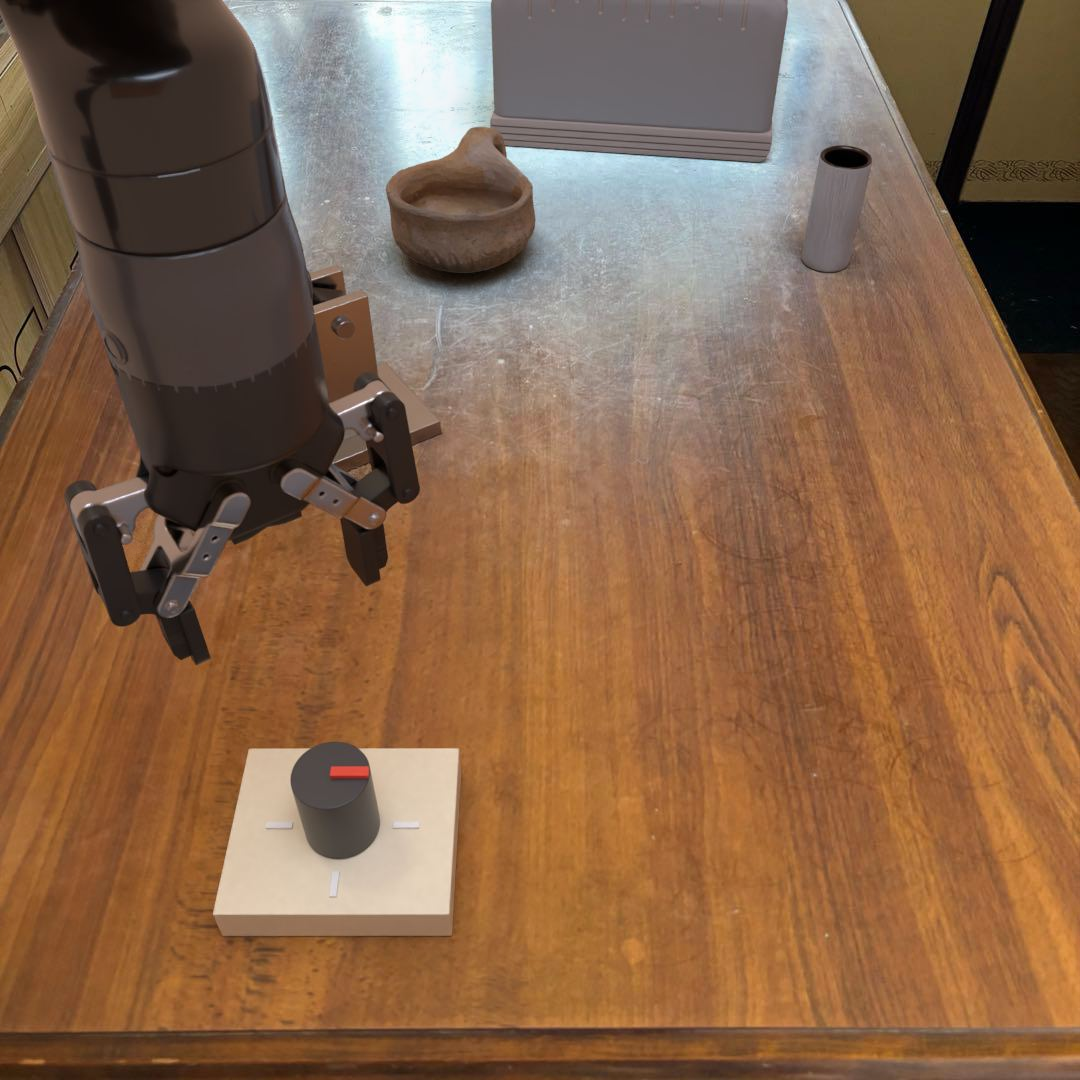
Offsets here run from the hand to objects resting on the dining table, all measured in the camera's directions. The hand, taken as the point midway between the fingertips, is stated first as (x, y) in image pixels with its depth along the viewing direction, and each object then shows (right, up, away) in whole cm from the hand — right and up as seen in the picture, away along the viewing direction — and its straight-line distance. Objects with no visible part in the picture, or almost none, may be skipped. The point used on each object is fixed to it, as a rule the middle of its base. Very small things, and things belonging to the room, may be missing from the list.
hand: (282, 610), depth 52 cm
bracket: (-3, +12, +35) cm, 37 cm away
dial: (+2, -12, +8) cm, 14 cm away
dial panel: (+2, -14, +9) cm, 17 cm away
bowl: (+5, +32, +55) cm, 64 cm away
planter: (+39, +30, +53) cm, 72 cm away
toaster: (+24, +58, +81) cm, 102 cm away
